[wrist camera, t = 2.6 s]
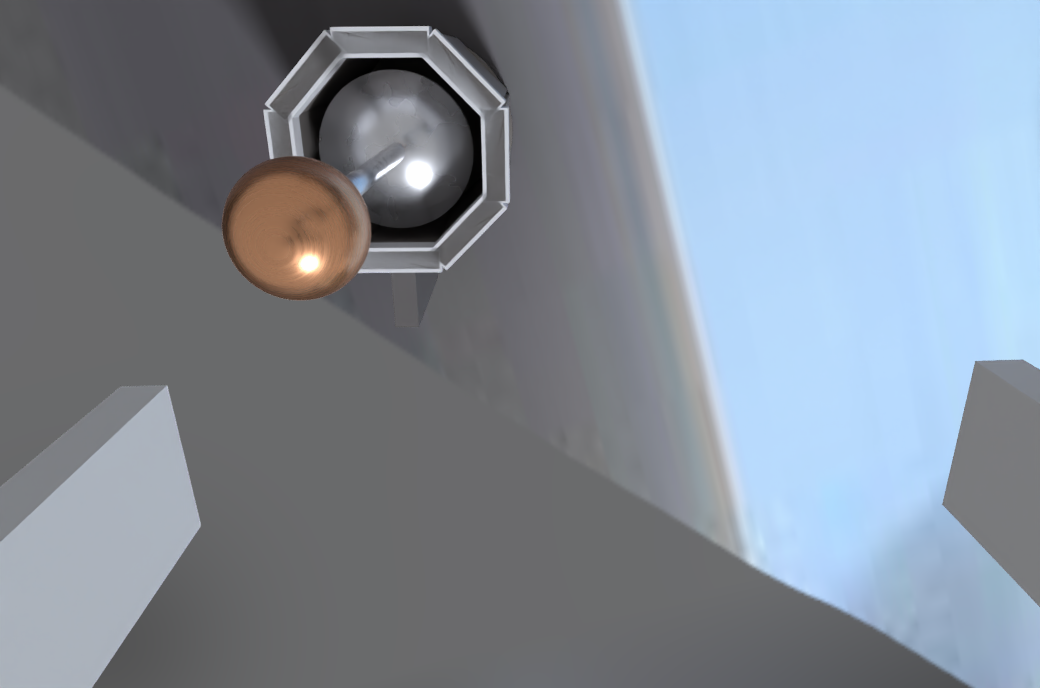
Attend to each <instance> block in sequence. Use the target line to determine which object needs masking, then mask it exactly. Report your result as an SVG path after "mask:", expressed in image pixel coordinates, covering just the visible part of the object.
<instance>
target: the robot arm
mask: <svg viewBox="0 0 1040 688" xmlns="http://www.w3.org/2000/svg"><path fill="white" fill-rule="evenodd" d="M942 505H943V506H944V507H945V508H946V509H947V510H948V511H949V512H950V513H951V514H952V515H953V516H954V517H955V518H956V519H957V520H958V521H959V522H960V524H961V525H962V526H963V527H964V528H965V529H966V530H967V531H968V532H969V533H970V534H971V535H972V536H973V537H974V538H975V539H976V540H977V541H978V542H979V544H980V545H981V546H982V547H983V548H984V549H985V550H986V551H987V552H988V553H989V554H990V555H991V556H992V557H993V558H994V559H995V560H996V561H997V562H998V564H999V565H1000V566H1001V567H1002V568H1003V569H1004V570H1005V571H1006V572H1007V573H1008V574H1009V575H1010V576H1011V577H1012V578H1013V579H1014V580H1015V581H1016V582H1017V584H1018V585H1019V586H1020V587H1021V588H1022V589H1023V590H1024V591H1025V592H1026V593H1027V594H1028V595H1029V596H1030V597H1031V598H1032V599H1033V600H1034V601H1035V602H1036V603H1037V605H1038V606H1039V607H1040V370H1039V369H1038V368H1036V367H1034V366H1033V365H1031V364H1029V363H1028V362H1026V361H1024V360H996V361H975V365H974V369H973V374H972V378H971V382H970V387H969V391H968V395H967V400H966V404H965V408H964V413H963V417H962V421H961V426H960V430H959V434H958V439H957V443H956V447H955V452H954V456H953V460H952V465H951V469H950V473H949V478H948V482H947V486H946V491H945V495H944V499H943V504H942ZM200 526H201V523H200V519H199V515H198V511H197V507H196V502H195V498H194V494H193V490H192V486H191V482H190V478H189V474H188V469H187V465H186V461H185V457H184V453H183V449H182V444H181V441H180V436H179V432H178V428H177V424H176V420H175V415H174V412H173V407H172V403H171V399H170V395H169V390H168V386H167V385H160V386H129V387H128V386H126V387H125V386H124V387H119V388H118V389H117V390H116V391H115V392H113V393H112V394H111V395H110V396H109V397H107V398H106V399H105V400H104V401H103V402H101V403H100V404H99V405H98V406H97V407H95V408H94V409H93V410H92V411H91V412H89V413H88V414H87V415H86V416H85V417H84V418H82V419H81V420H80V421H79V422H78V423H76V424H75V425H74V426H73V427H71V428H70V429H69V430H68V431H67V432H65V433H64V434H63V435H62V436H61V437H59V438H58V439H57V440H56V441H55V442H53V443H52V444H51V445H50V446H49V447H48V448H46V449H45V450H44V451H43V452H41V453H40V454H39V455H38V456H37V457H35V458H34V459H33V460H32V461H31V462H30V463H28V464H27V465H26V466H25V467H24V468H22V469H21V470H20V471H19V472H17V473H16V474H15V475H14V476H13V477H11V478H10V479H9V480H8V481H7V482H6V483H4V484H3V485H2V486H1V487H0V688H92V687H93V685H94V684H95V682H96V681H97V679H98V678H99V676H100V674H101V673H102V672H103V670H104V669H105V667H106V666H107V664H108V663H109V661H110V660H111V658H112V657H113V656H114V654H115V653H116V651H117V650H118V648H119V646H120V645H121V644H122V642H123V641H124V639H125V638H126V636H127V635H128V633H129V632H130V630H131V629H132V627H133V626H134V624H135V623H136V621H137V620H138V618H139V617H140V615H141V614H142V612H143V611H144V609H145V608H146V606H147V605H148V604H149V602H150V601H151V599H152V597H153V596H154V595H155V593H156V592H157V590H158V589H159V587H160V586H161V584H162V583H163V581H164V580H165V578H166V577H167V575H168V574H169V572H170V571H171V569H172V568H173V566H174V565H175V563H176V562H177V560H178V559H179V557H180V556H181V554H182V553H183V551H184V550H185V548H186V547H187V546H188V544H189V542H190V541H191V540H192V538H193V536H194V535H195V534H196V532H197V531H198V529H199V528H200Z"/></svg>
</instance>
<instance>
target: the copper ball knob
mask: <svg viewBox="0 0 1040 688" xmlns="http://www.w3.org/2000/svg"><path fill="white" fill-rule="evenodd" d="M319 154H320V159H321V161H319V160H316V159H313V158H308V157H302V156H284V157H279V158H274V159H270V160H267V161H265V162H262V163H260V164H259V165H257V166H255V167H253V168H252V169H250V170H249V171H248V172H247V173H245V174H244V175H243V176H242V177H241V178H240V179H239V180H238V181H237V183H236V184H235V186H234V187H233V189H232V190H231V192H230V194H229V196H228V198H227V200H226V203H225V206H224V211H223V217H222V233H223V239H224V243H225V246H226V249H227V252H228V254H229V256H230V258H231V260H232V262H233V264H234V265H235V267H236V268H237V269H238V271H239V272H240V273H241V274H242V275H243V276H244V277H245V278H246V279H247V280H248V281H249V282H250V283H252V284H253V285H254V286H256V287H257V288H259V289H261V290H263V291H264V292H266V293H268V294H271V295H273V296H276V297H279V298H283V299H289V300H311V299H317V298H321V297H324V296H327V295H329V294H332V293H334V292H336V291H338V290H339V289H341V288H342V287H344V286H345V285H346V284H347V283H348V282H349V281H350V280H352V279H353V278H354V277H355V275H356V274H357V273H358V272H359V270H360V269H361V267H362V265H363V263H364V261H365V259H366V257H367V254H368V251H369V248H370V243H371V222H372V223H375V224H378V225H382V226H386V227H392V228H410V227H416V226H420V225H423V224H426V223H429V222H431V221H433V220H435V219H437V218H439V217H440V216H442V215H443V214H445V213H446V212H447V211H448V210H449V209H450V208H451V207H452V206H453V205H454V204H455V203H456V202H457V201H458V199H459V198H460V196H461V195H462V193H463V191H464V190H465V187H466V185H467V183H468V181H469V178H470V175H471V171H472V167H473V161H474V145H473V137H472V133H471V129H470V126H469V123H468V121H467V118H466V116H465V114H464V112H463V110H462V109H461V107H460V106H459V104H458V103H457V101H456V100H455V99H454V98H453V97H452V96H451V95H450V93H448V92H447V91H446V90H445V89H444V88H443V87H442V86H440V85H439V84H437V83H436V82H434V81H433V80H431V79H429V78H427V77H425V76H423V75H420V74H417V73H414V72H410V71H406V70H395V69H391V70H380V71H375V72H371V73H368V74H365V75H363V76H360V77H358V78H356V79H355V80H353V81H351V82H350V83H349V84H347V85H346V86H345V87H343V88H342V89H341V90H340V91H339V92H338V93H337V95H336V96H335V97H334V99H333V100H332V101H331V103H330V104H329V106H328V108H327V110H326V112H325V115H324V117H323V120H322V123H321V128H320V134H319Z"/></svg>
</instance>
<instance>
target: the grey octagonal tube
mask: <svg viewBox="0 0 1040 688" xmlns="http://www.w3.org/2000/svg"><path fill="white" fill-rule="evenodd" d="M391 69H395V70H406V71H410V72H414V73H417V74H420V75H423V76H425V77H427V78H429V79H431V80H433V81H434V82H436V83H437V84H439V85H440V86H442V87H443V88H444V89H445V90H446V91H447V92H448V93H450V95H451V96H452V97H453V98H454V99H455V100H456V101H457V103H458V104H459V106H460V107H461V109H462V110H463V112H464V114H465V116H466V118H467V121H468V123H469V126H470V129H471V133H472V137H473V145H474V161H473V167H472V171H471V175H470V178H469V181H468V183H467V185H466V187H465V190H464V191H463V193H462V195H461V196H460V198H459V199H458V201H457V202H456V203H455V204H454V205H453V206H452V207H451V208H450V209H449V210H448V211H447V212H446V213H445V214H443V215H442V216H440V217H439V218H437V219H435V220H433V221H431V222H429V223H426V224H423V225H420V226H416V227H410V228H392V227H386V226H382V225H378V224H375V223H372V222H371V243H370V248H369V251H368V254H367V257H366V259H365V261H364V263H363V265H362V267H361V269H360V270H359V272H358V273H391V280H392V292H393V305H394V317H395V327H419V326H420V323H421V320H422V318H423V315H424V312H425V310H426V307H427V304H428V302H429V299H430V297H431V294H432V291H433V289H434V286H435V283H436V281H437V278H438V272H442V270H443V267H444V268H445V269H446V270H447V269H448V268H449V267H450V266H451V265H452V264H453V263H454V262H455V261H456V260H457V259H458V258H459V257H460V256H461V255H462V254H463V253H464V252H465V251H466V250H467V249H468V248H469V247H470V246H471V245H472V244H473V243H474V242H475V241H476V240H477V239H478V238H479V237H480V236H481V235H482V234H483V233H484V232H485V231H486V230H487V229H488V228H489V227H490V226H491V225H492V224H493V223H494V222H495V220H496V219H497V218H498V217H499V216H500V215H501V214H502V213H503V212H504V211H505V210H506V209H507V207H508V203H510V150H511V145H512V133H513V126H512V115H511V110H510V101H509V94H506V92H507V88H506V87H505V86H504V85H503V84H502V83H501V82H500V81H499V80H498V78H497V77H496V75H495V74H494V72H493V71H492V69H491V68H490V67H489V66H488V65H487V64H486V62H485V61H484V60H482V59H481V58H480V57H479V56H478V55H477V54H476V53H474V52H473V51H472V50H470V49H469V48H467V47H466V46H465V45H464V44H463V43H462V42H461V41H460V40H459V39H458V38H454V37H453V36H450V35H445V34H441V33H440V31H439V30H438V29H434V30H433V31H432V27H430V26H388V27H330V30H324V31H323V32H322V33H321V34H320V36H319V37H318V38H317V39H316V41H315V42H314V43H313V44H312V46H311V47H310V48H309V49H308V51H307V52H306V53H305V54H304V56H303V57H302V58H301V59H300V61H299V62H298V63H297V64H296V66H295V67H294V68H293V69H292V71H291V72H290V73H289V74H288V76H287V77H286V78H285V79H284V81H283V82H282V83H281V84H280V86H279V87H278V88H277V89H276V91H275V92H274V93H273V94H272V96H271V97H270V98H269V99H268V101H267V102H266V103H265V105H267V106H268V107H269V108H270V109H265V110H263V111H264V118H265V125H266V133H267V140H268V147H269V154H270V159H274V158H279V157H284V156H302V157H308V158H313V159H316V160H319V161H321V159H320V154H319V134H320V128H321V123H322V120H323V117H324V115H325V112H326V110H327V108H328V106H329V104H330V103H331V101H332V100H333V99H334V97H335V96H336V95H337V93H338V92H339V91H340V90H341V89H342V88H343V87H345V86H346V85H347V84H349V83H350V82H351V81H353V80H355V79H356V78H358V77H360V76H363V75H365V74H368V73H371V72H375V71H380V70H391Z"/></svg>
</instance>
